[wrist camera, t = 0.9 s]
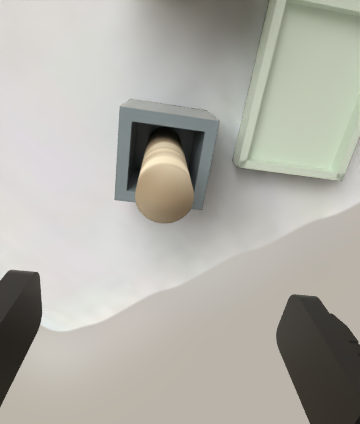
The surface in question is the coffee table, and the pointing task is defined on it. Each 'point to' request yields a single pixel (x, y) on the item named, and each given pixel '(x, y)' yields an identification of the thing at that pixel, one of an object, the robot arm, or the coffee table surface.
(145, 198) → the dowel
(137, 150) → the grey square box
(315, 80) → the tray
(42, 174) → the coffee table surface
